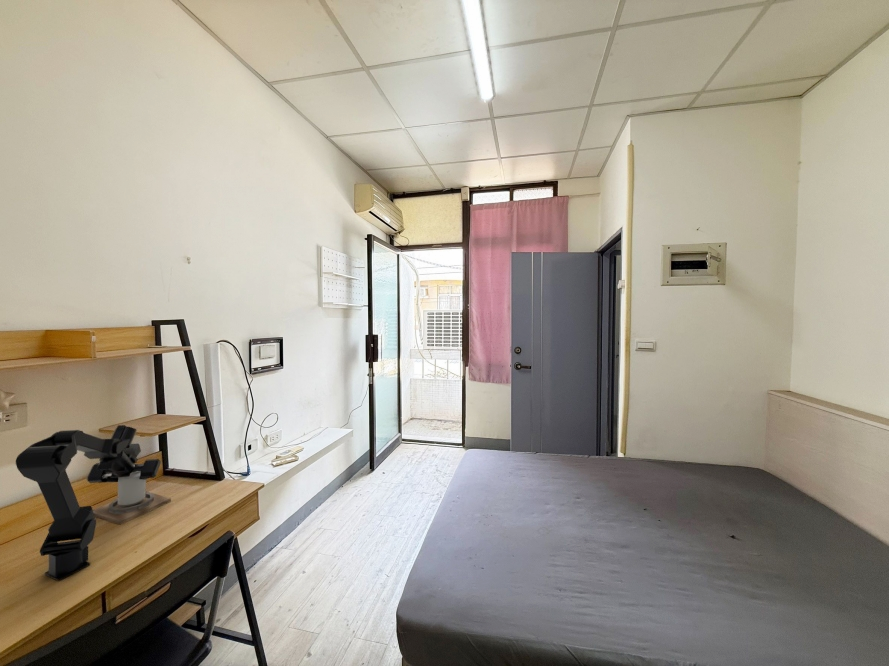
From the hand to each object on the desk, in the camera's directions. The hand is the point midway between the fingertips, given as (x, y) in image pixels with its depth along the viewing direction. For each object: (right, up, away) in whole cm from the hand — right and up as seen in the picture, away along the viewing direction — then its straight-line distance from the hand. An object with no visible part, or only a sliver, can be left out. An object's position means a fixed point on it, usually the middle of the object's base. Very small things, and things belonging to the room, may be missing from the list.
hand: (134, 479), depth 124 cm
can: (0, -8, -1) cm, 8 cm away
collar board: (0, -10, -1) cm, 10 cm away
